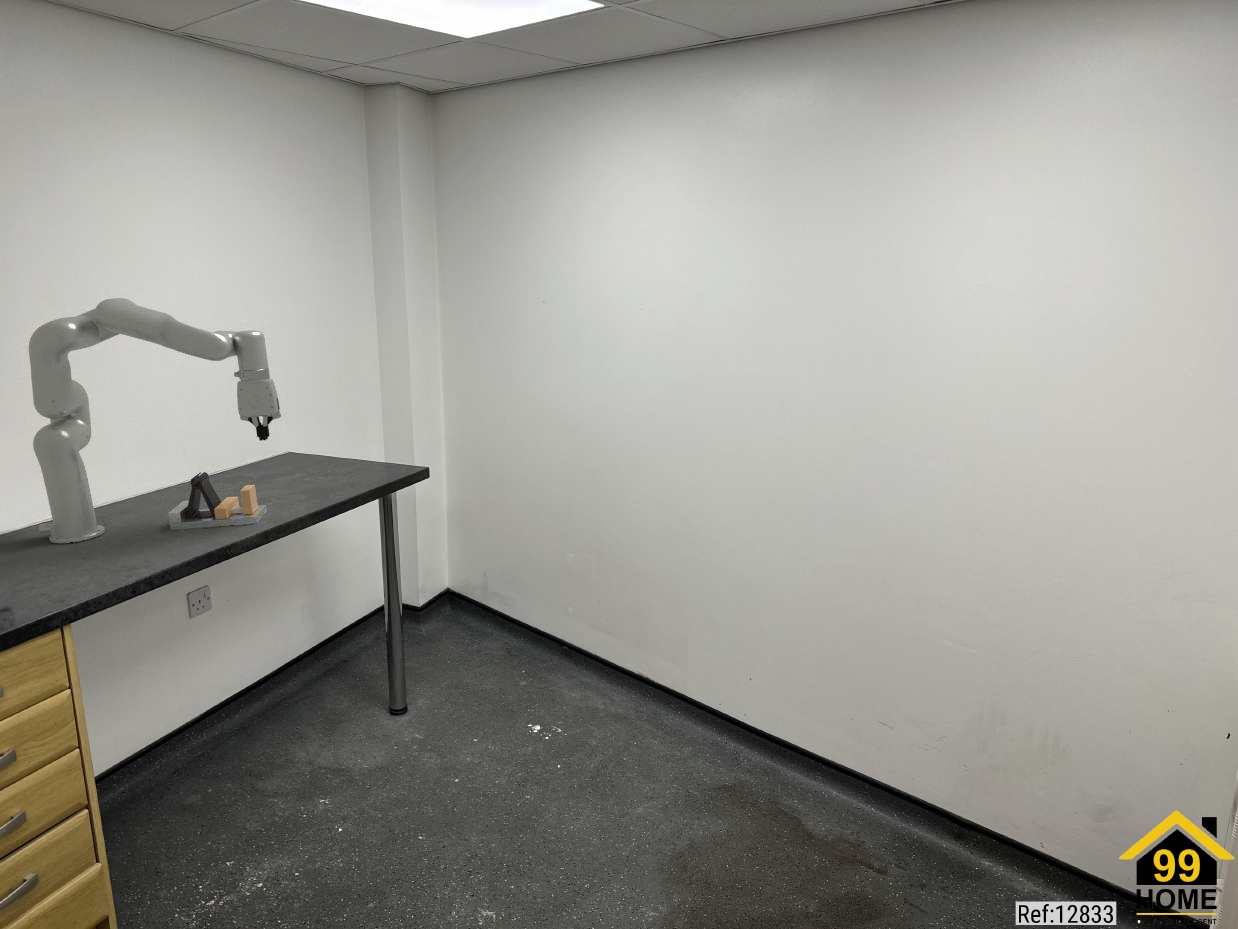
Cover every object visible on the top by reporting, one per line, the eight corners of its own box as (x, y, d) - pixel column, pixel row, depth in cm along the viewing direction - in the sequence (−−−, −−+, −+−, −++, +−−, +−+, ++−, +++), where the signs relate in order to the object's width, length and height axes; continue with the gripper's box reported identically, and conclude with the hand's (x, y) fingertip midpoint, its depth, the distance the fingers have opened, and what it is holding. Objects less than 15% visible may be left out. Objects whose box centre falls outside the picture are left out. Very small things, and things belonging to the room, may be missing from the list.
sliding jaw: (215, 519, 217) (211, 495, 215) (228, 506, 228) (224, 484, 227) (249, 516, 218) (246, 493, 217) (260, 504, 230) (257, 482, 228)
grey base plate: (171, 530, 215) (169, 523, 215) (186, 517, 227) (185, 510, 226) (256, 523, 219) (255, 517, 219) (267, 511, 231) (266, 504, 230)
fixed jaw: (169, 523, 215) (168, 513, 214) (185, 510, 226) (183, 500, 226) (181, 522, 215) (179, 512, 215) (196, 509, 227) (194, 500, 226)
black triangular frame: (185, 519, 218) (178, 478, 215) (192, 512, 224) (185, 473, 221) (219, 516, 220) (212, 476, 217) (225, 510, 226) (219, 470, 223)
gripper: (222, 378, 210) (232, 444, 215) (280, 375, 213) (288, 440, 218) (230, 374, 218) (239, 438, 222) (286, 372, 220) (294, 435, 225)
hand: (263, 439), depth 220 cm, fingers closed
